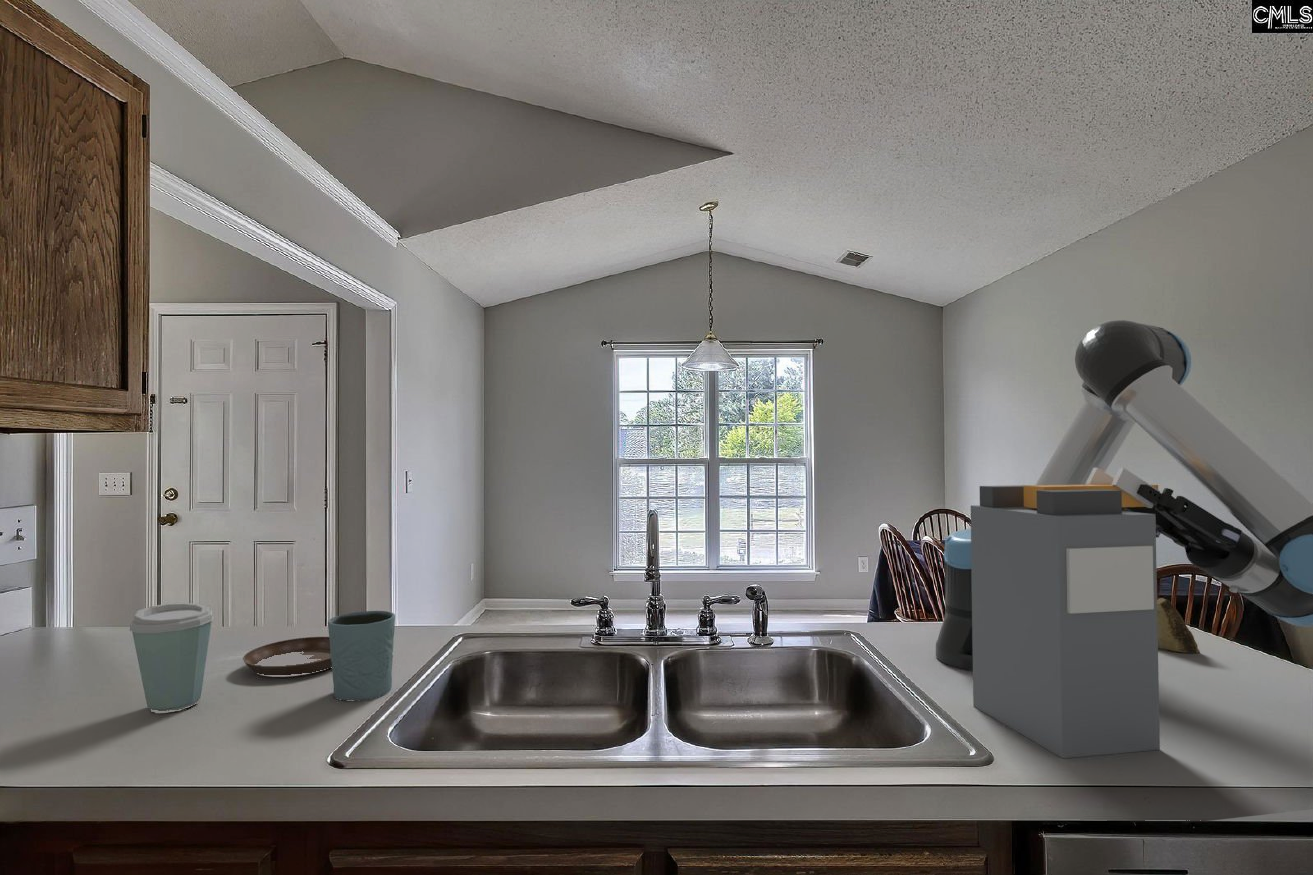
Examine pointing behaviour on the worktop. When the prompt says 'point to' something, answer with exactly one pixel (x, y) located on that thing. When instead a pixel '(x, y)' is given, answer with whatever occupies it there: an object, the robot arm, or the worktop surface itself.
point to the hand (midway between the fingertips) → (1104, 476)
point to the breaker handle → (1031, 493)
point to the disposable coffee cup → (172, 653)
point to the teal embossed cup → (362, 654)
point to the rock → (1173, 629)
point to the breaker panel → (1066, 619)
